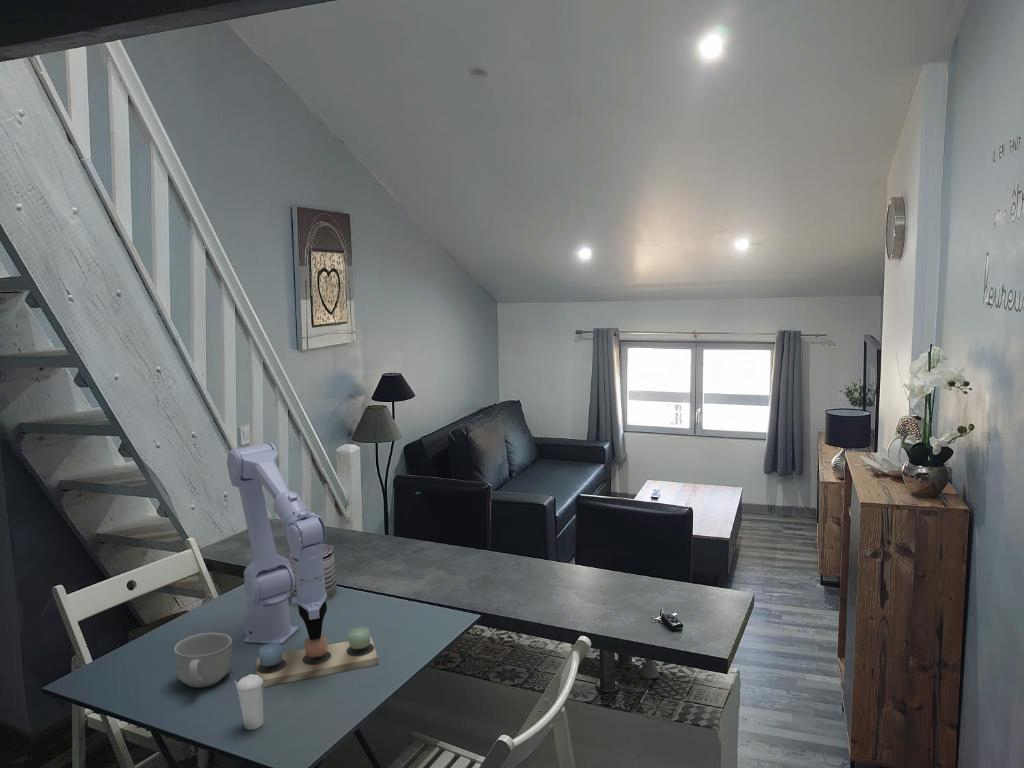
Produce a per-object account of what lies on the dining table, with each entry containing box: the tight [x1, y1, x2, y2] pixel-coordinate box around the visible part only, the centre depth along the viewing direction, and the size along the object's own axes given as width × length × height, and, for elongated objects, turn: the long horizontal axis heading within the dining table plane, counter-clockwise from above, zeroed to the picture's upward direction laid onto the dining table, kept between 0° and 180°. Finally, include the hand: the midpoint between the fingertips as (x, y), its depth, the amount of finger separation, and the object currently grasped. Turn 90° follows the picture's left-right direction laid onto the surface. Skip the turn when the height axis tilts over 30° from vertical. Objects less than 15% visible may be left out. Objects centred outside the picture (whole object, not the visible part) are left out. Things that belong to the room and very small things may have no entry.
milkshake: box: [230, 673, 264, 731], centre depth 134 cm, size 4×5×10 cm
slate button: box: [258, 643, 283, 666], centre depth 153 cm, size 4×4×3 cm
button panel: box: [255, 636, 379, 688], centre depth 156 cm, size 24×10×2 cm, turn 108°
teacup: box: [173, 632, 233, 688], centre depth 150 cm, size 14×11×8 cm
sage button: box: [348, 626, 371, 649], centre depth 158 cm, size 4×4×3 cm
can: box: [287, 543, 338, 602], centre depth 191 cm, size 11×11×12 cm
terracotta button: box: [304, 634, 328, 657], centre depth 155 cm, size 4×4×3 cm
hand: (315, 638), depth 155 cm, fingers closed
